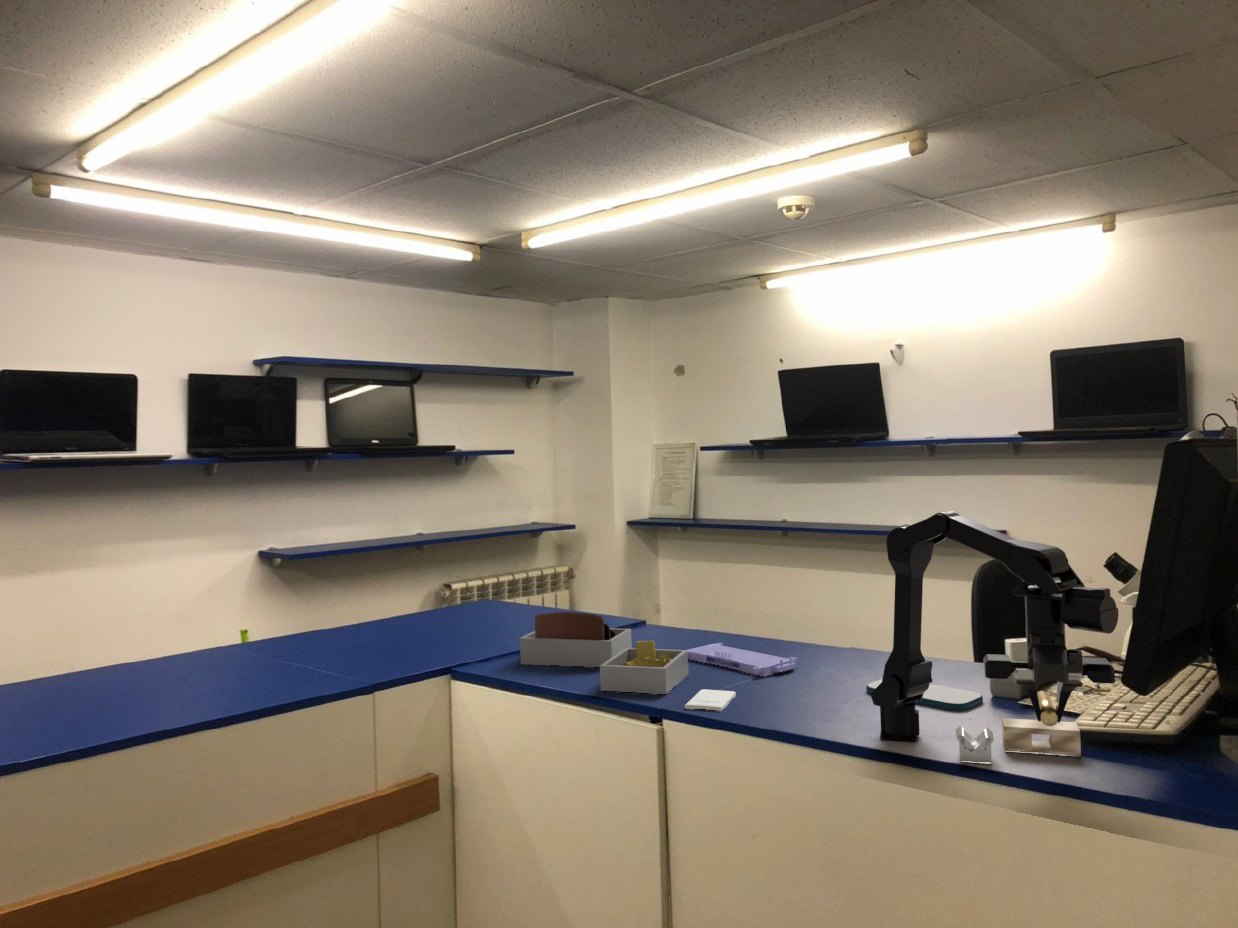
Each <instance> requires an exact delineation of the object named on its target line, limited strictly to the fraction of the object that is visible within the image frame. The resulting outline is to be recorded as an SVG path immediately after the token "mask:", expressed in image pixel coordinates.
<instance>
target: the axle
mask: <svg viewBox="0 0 1238 928" xmlns="http://www.w3.org/2000/svg"><path fill="white" fill-rule="evenodd" d="M1037 694H1038V700H1039V705H1040V711H1041V720H1042V722H1043V723H1044V724H1045V725H1047V726H1054V725H1055V724H1056V723H1057V722H1058V717H1057V714H1056V708H1055V707H1054V704H1053V702H1052V698H1051V696H1050V694H1049V693H1048V692H1047V691H1045V690H1040V691H1039V690H1038V691H1037Z"/></svg>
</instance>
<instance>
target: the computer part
mask: <svg viewBox="0 0 1238 928" xmlns="http://www.w3.org/2000/svg"><path fill="white" fill-rule="evenodd" d="M687 650H688V659H691V660H695V661H699V662H698V663H700V662H704V663H707V664H710V663H711V664H710V665H714V664H715V666H716V665H719V666H718V667H722V666H724V667H723V668H725V667H728V668H727V669H731V668H732V669H731V670H737V671H739V672H740V671H743V672H742V673H744V672H746V673H745V674H748V673H752V674H751V675H753V674H755V675H754V676H757V675H760V676H759V677H761V676H764V677H763V678H767V677H766V676H768V675H771V676H773V675H774V674H773V673H776V674H778V673H777V672H781V673H784V672H786V671H789V670H790V671H791V670H795V669H796V668H797V666H796V665H797V664H796V663H797V660H798V659H797V657H793V656H789V657H788V658H787V657H782V656H776V655H771V654H766V653H761V652H756V651H752V650H746V649H740V648H736V647H730V646H726V645H724V643H722V642H717V643H711V644H706V645H702V646H697V647H694V648H693V647H692V648H688V649H687ZM691 660H690V661H691ZM695 661H694V662H695ZM704 663H703V664H704ZM783 671H784V672H783ZM768 677H769V676H768Z"/></svg>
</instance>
